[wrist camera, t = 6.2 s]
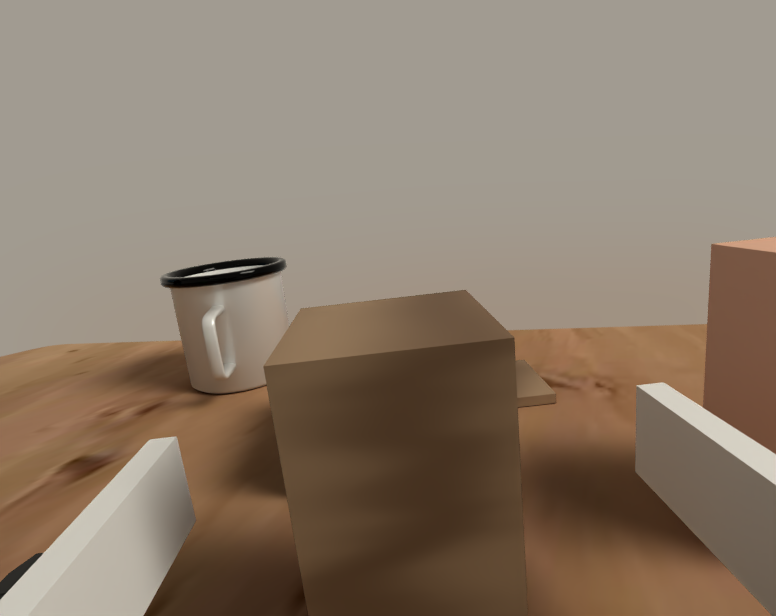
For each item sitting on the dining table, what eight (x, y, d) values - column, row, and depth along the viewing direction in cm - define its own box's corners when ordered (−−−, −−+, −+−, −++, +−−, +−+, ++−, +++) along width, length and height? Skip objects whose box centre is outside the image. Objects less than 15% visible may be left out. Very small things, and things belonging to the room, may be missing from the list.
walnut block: (332, 747, 12) (262, 366, 9) (344, 584, 16) (301, 308, 14) (533, 723, 12) (514, 337, 9) (485, 568, 16) (465, 290, 14)
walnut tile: (456, 414, 28) (455, 404, 28) (441, 376, 34) (441, 369, 34) (556, 402, 28) (555, 393, 28) (524, 367, 34) (524, 359, 34)
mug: (203, 363, 43) (182, 266, 41) (306, 349, 44) (291, 253, 42) (153, 422, 31) (121, 291, 29) (294, 402, 32) (273, 272, 30)
